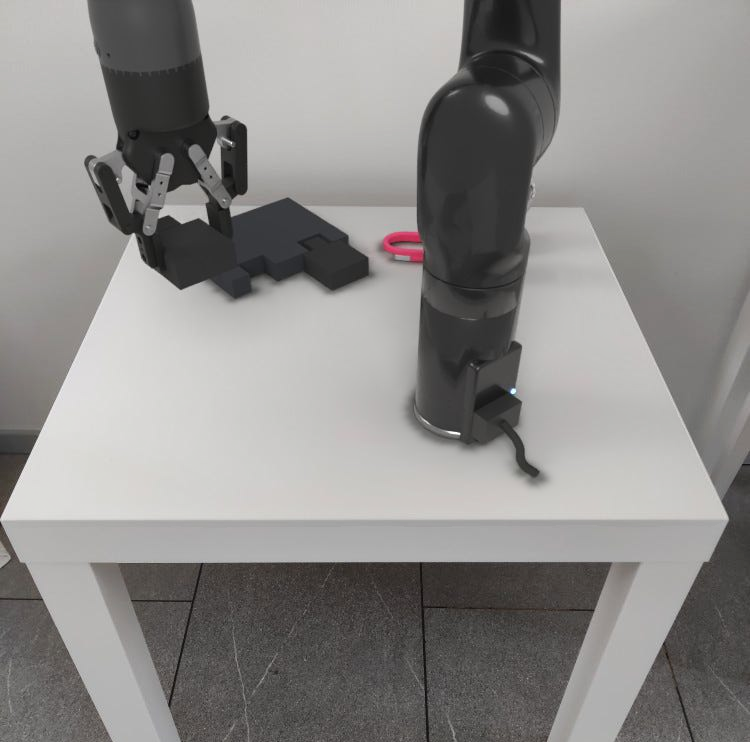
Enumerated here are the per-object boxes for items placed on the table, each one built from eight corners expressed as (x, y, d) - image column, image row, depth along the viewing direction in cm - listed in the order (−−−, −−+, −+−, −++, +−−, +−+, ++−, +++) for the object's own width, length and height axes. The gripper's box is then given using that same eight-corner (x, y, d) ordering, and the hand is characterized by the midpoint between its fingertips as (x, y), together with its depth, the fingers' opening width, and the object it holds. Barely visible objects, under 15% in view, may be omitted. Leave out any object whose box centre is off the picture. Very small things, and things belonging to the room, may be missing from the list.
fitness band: (379, 259, 101) (380, 248, 100) (386, 237, 105) (386, 227, 104) (440, 264, 100) (441, 253, 99) (444, 242, 104) (445, 231, 103)
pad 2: (238, 267, 70) (234, 241, 68) (180, 290, 67) (174, 264, 65) (190, 233, 74) (185, 208, 72) (134, 253, 71) (128, 228, 70)
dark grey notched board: (349, 252, 102) (348, 235, 101) (234, 298, 95) (231, 281, 93) (289, 213, 110) (288, 196, 108) (178, 253, 102) (175, 236, 100)
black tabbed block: (368, 275, 99) (368, 257, 97) (331, 291, 96) (331, 273, 94) (329, 249, 103) (329, 231, 101) (293, 263, 100) (291, 246, 99)
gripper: (81, 86, 52) (139, 302, 64) (258, 41, 58) (279, 246, 70) (36, 58, 56) (98, 267, 68) (206, 19, 62) (235, 217, 74)
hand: (190, 255), depth 69 cm, fingers closed on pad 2, 6 cm apart
